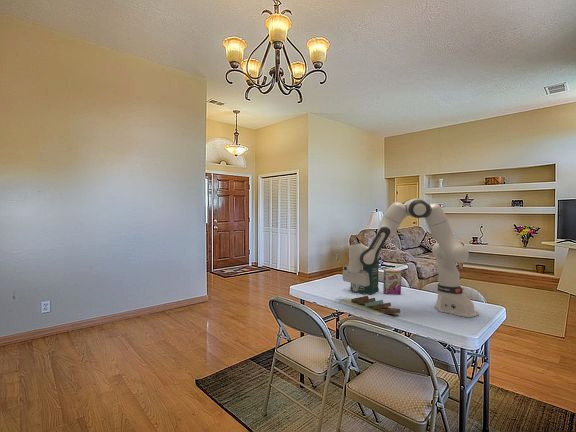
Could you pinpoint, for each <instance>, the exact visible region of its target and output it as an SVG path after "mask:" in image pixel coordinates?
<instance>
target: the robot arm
mask: <svg viewBox="0 0 576 432" xmlns="http://www.w3.org/2000/svg"><path fill="white" fill-rule="evenodd" d="M444 211H445V210H443V208H442V207H441V205H440V204H438V203H430V204H429V203H428V202H426V201H425V200H423V199H420V198H416V197H415V198H414V197H413V198H410V199H407V200H405V201H404V202H402V203H401V202H397V201H394V202H393V203H392V204H391V205H390V206H389V207H388V208H387V209H386V211H385V213H384V214H383V216H382V217H381V220H380V222H379V225H378V229H377V232H376V235H375V237H374V239H372V242H371V244H370V245H369V246H366V245H364V244H363V243H362V242H354V243H351V244H350V245H349V249H348V265H344V266H342V270H343V271H342V273H341V274H342V276H341V277H342V278H341V279H342V281H344V282H346V283H350V286H351V285H352V287H353V290H354V291H358V288H359V286H360V285H361V286H365V287H366V286H369V285H370V281H369V273H368V272H367V271H364V270H363V266H364V267H367V268H372V267H374V266H375V265H376V264H377V261H378V258H379V259H380V253H381V252H380V251H381V250H382V248H383V246H384V245H385V243H386V242H387V240H389V239H390V237H391V236H392V235H393V234H394V233H396V232H397V231H398V229H399V227H400V226H401V225H402V222H403V221H404V220H405V219H406V217H408V216H409V217H412V218H415V219H424V220H425V221H426V224H427V227H428V231H429V232H430V234H431V237H432V238H433V240H435V242H436V243H435V244H433V246H432V247H431V253H432V255H433V256H434V258H435V262H436V264H437V266H436V267H437V270H438V283H437V299H436V303H435V305H434V308H435V309H437V311H438V312H441V313H446V314H450V315H453V316H454V315H455V316H457V317H458V316H459V317H463V318H474V316H475V317H477V316H479V315H480V312H479V311H478V310H475V304H474V302H473V301H472V300H471V299H470V298H469V297H468V296H467V295H465V294H464V293H463V291H464V289H465V288H464V287H463V288H462V287H461V286H460V285H461V282H460V279H461V276H460V275H461V274H460V270H459V269H458V268H457V265H456V264H463V263H465V262H466V261H468V259H469V256H470V254H469V250H468V249H467V248H466V247H465V246H464V245H463V244H462V243H461V242H460V240H459V239H458V237H457V236H456V234H455V233H454V231H453V229H452V227H451V224H450V223H449V220H448V217H447V215H446V213H445V212H444ZM355 284H356V287H355Z"/></svg>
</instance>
